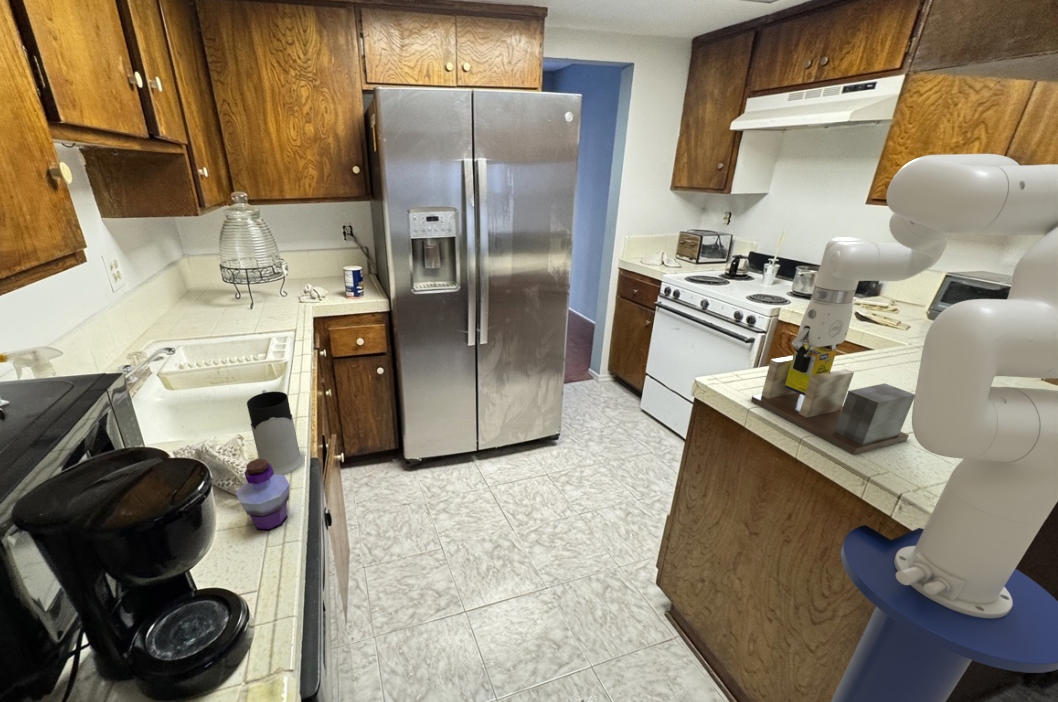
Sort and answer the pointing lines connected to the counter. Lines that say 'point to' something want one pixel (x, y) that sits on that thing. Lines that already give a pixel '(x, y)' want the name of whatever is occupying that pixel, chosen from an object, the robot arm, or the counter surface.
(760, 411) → the counter surface
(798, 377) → the supplement box
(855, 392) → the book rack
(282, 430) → the glass holder
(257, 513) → the potion bottle
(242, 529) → the counter surface
